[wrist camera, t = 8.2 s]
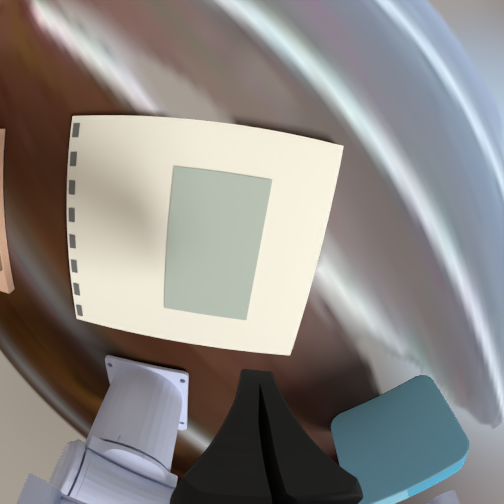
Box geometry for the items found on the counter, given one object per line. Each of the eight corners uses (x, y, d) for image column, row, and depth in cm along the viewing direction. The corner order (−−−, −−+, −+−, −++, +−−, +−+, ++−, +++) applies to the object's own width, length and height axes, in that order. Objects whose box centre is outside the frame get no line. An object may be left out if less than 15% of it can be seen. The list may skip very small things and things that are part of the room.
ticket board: (288, 347, 23) (290, 356, 22) (81, 312, 22) (76, 319, 21) (338, 145, 18) (344, 146, 17) (79, 116, 16) (71, 115, 15)
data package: (338, 433, 29) (359, 517, 17) (327, 417, 27) (350, 511, 16) (428, 390, 27) (469, 464, 16) (426, 369, 25) (475, 450, 14)
